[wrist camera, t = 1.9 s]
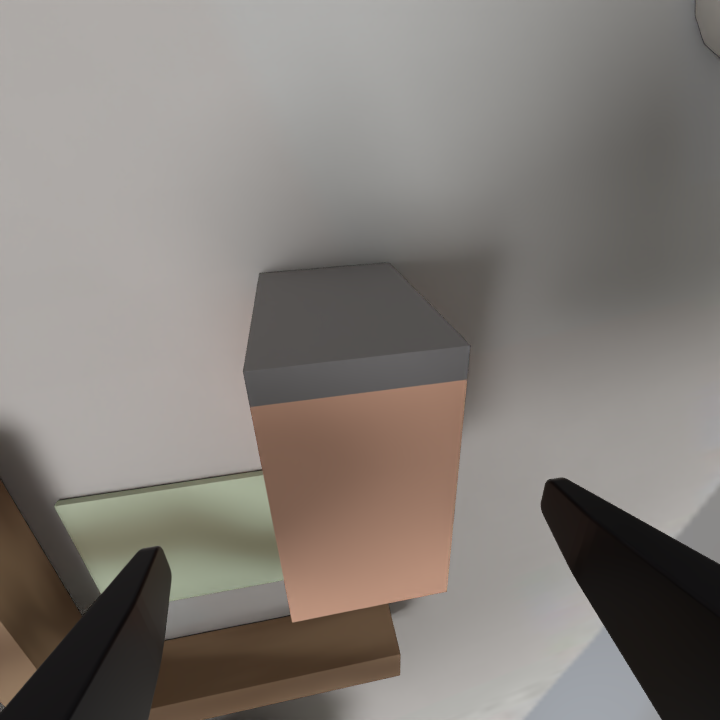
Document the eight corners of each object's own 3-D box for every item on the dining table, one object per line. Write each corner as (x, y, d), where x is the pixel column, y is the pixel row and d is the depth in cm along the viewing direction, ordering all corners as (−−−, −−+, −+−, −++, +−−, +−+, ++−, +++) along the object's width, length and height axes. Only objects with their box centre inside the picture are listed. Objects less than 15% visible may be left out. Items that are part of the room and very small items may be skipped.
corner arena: (386, 617, 24) (400, 675, 21) (75, 681, 22) (47, 754, 19) (383, 385, 17) (403, 429, 14) (-89, 444, 14) (-172, 510, 12)
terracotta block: (389, 442, 18) (446, 591, 12) (287, 457, 17) (292, 622, 11) (388, 262, 14) (470, 345, 8) (259, 273, 14) (243, 371, 8)
